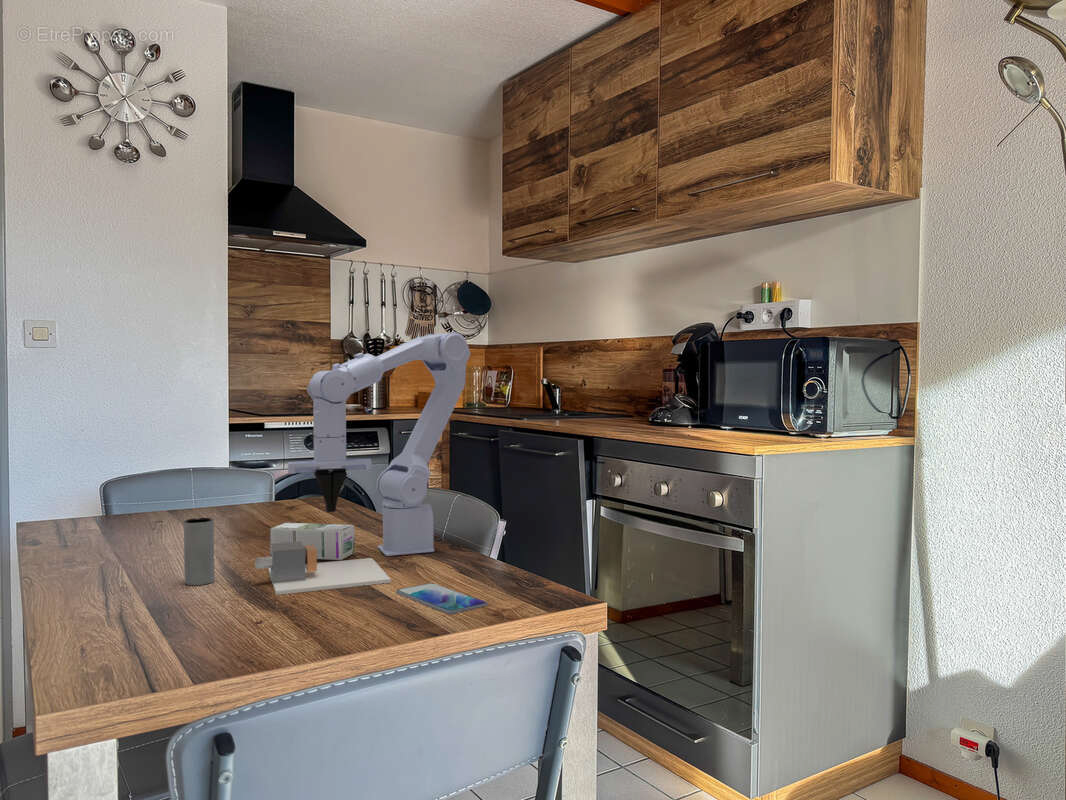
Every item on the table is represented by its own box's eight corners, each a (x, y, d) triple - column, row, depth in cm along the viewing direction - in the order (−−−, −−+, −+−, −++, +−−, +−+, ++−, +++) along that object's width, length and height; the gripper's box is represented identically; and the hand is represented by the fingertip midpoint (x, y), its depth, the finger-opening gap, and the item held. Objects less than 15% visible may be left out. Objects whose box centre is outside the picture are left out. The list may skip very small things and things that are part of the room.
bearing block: (301, 571, 132) (301, 541, 132) (305, 579, 127) (305, 548, 127) (270, 574, 130) (270, 543, 130) (273, 583, 125) (272, 551, 125)
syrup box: (269, 558, 145) (342, 562, 142) (269, 526, 144) (342, 530, 141) (285, 550, 150) (355, 555, 147) (285, 520, 150) (355, 524, 147)
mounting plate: (371, 561, 142) (371, 557, 142) (390, 582, 127) (390, 579, 127) (268, 571, 135) (268, 567, 135) (275, 595, 120) (275, 591, 120)
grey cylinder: (220, 579, 129) (219, 518, 129) (200, 586, 125) (199, 523, 125) (198, 577, 131) (197, 516, 131) (178, 584, 127) (177, 521, 126)
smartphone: (432, 582, 126) (489, 602, 115) (432, 587, 126) (489, 608, 115) (394, 589, 121) (449, 611, 110) (394, 595, 121) (449, 617, 110)
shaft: (313, 565, 132) (313, 544, 132) (316, 571, 128) (316, 549, 128) (254, 571, 128) (254, 549, 128) (256, 577, 125) (255, 555, 125)
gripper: (366, 433, 147) (366, 505, 147) (286, 436, 141) (287, 510, 142) (373, 436, 140) (374, 511, 141) (289, 439, 135) (290, 516, 135)
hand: (330, 511), depth 141 cm, fingers closed
